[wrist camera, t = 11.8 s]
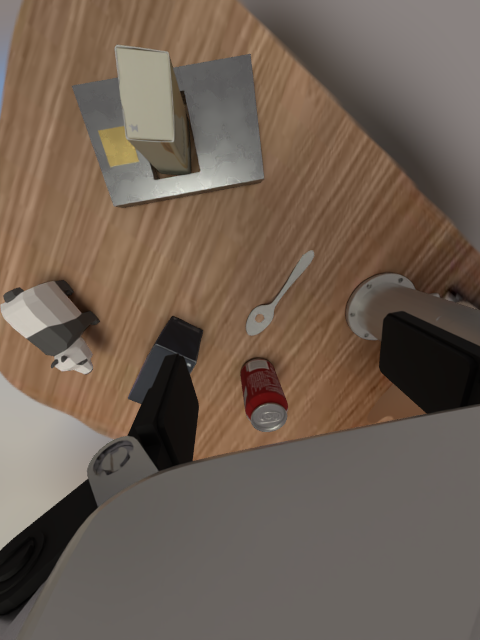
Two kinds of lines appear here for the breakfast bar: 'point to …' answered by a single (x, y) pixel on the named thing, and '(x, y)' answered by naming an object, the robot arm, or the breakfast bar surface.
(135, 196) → the grey slotted base block
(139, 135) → the skincare box
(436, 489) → the robot arm
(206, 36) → the breakfast bar surface
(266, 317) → the spoon
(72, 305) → the giant panda
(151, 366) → the small box
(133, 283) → the breakfast bar surface
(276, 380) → the soda can
